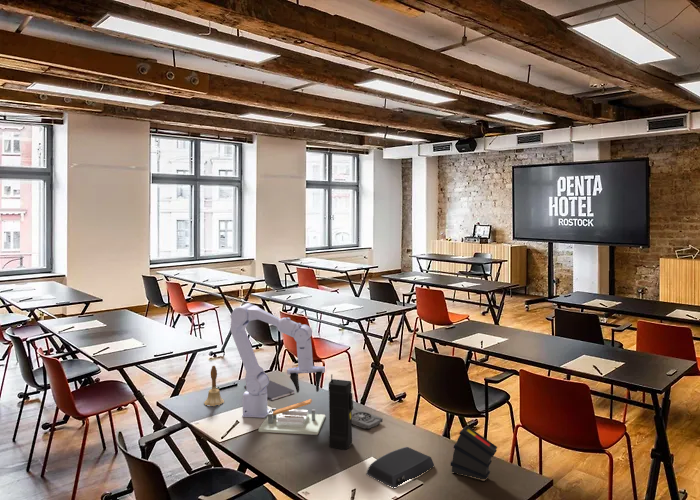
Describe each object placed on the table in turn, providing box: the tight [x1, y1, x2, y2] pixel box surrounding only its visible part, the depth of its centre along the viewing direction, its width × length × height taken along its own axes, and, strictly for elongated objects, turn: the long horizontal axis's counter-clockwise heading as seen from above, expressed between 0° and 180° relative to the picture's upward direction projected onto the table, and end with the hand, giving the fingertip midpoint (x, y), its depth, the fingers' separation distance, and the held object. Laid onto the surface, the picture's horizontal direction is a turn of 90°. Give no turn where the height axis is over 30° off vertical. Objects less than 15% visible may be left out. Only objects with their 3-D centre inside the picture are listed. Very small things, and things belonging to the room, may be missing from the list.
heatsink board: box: [258, 407, 326, 436], centre depth 201 cm, size 22×16×5 cm
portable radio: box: [328, 374, 354, 450], centre depth 183 cm, size 8×6×25 cm
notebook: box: [243, 379, 295, 401], centre depth 237 cm, size 13×2×21 cm
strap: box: [270, 398, 313, 415], centre depth 201 cm, size 17×3×1 cm, turn 81°
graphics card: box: [352, 405, 383, 430], centre depth 202 cm, size 17×4×12 cm
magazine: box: [450, 425, 498, 479], centre depth 162 cm, size 4×13×15 cm, turn 59°
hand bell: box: [203, 365, 225, 407], centre depth 222 cm, size 8×8×16 cm
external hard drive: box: [365, 446, 435, 489], centre depth 166 cm, size 13×19×4 cm
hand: (307, 391), depth 206 cm, fingers open, 7 cm apart
